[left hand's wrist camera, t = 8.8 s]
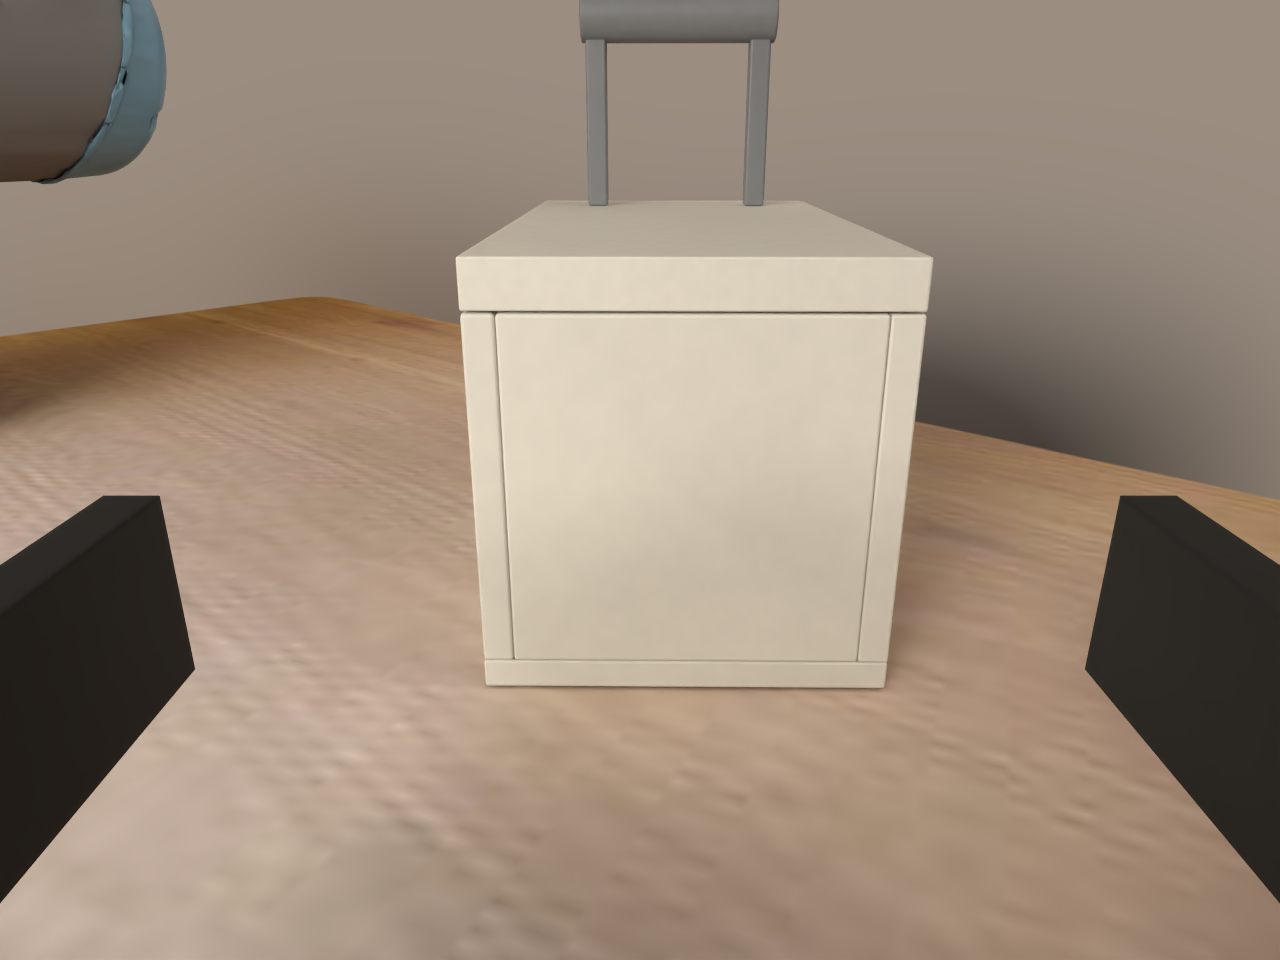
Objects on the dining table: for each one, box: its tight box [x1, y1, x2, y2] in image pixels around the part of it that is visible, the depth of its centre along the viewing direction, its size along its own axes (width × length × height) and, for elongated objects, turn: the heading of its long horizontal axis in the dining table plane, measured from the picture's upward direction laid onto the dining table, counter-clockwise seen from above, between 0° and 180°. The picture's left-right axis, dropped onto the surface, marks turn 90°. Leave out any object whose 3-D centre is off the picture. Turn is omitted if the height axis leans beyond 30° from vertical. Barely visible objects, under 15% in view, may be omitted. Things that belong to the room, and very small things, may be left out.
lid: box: [456, 0, 933, 312], centre depth 26 cm, size 18×10×8 cm, turn 179°
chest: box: [460, 311, 926, 688], centre depth 29 cm, size 17×10×9 cm, turn 179°
